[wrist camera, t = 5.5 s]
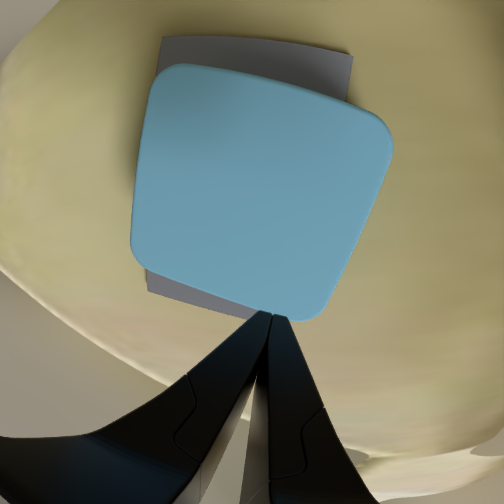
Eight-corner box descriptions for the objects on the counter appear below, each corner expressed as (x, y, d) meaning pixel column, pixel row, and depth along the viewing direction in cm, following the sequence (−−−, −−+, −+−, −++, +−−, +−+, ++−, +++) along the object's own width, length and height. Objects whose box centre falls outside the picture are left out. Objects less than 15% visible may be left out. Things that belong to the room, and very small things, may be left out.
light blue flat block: (381, 122, 15) (190, 69, 15) (404, 126, 11) (154, 60, 11) (315, 287, 20) (159, 235, 21) (314, 330, 16) (127, 264, 17)
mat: (352, 58, 14) (353, 56, 13) (286, 324, 23) (285, 328, 23) (166, 38, 15) (162, 36, 14) (150, 287, 24) (147, 290, 24)
